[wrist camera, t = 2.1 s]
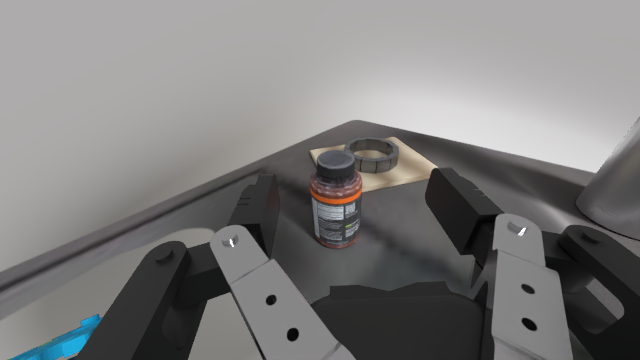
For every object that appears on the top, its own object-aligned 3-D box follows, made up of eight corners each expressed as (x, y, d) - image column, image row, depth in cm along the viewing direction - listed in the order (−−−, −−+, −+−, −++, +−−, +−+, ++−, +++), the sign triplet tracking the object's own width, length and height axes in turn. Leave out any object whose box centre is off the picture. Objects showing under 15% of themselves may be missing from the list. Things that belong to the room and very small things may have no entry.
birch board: (393, 140, 53) (394, 136, 52) (441, 175, 40) (443, 171, 39) (310, 154, 49) (310, 150, 48) (334, 198, 36) (334, 193, 35)
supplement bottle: (328, 212, 33) (326, 141, 27) (366, 226, 31) (373, 151, 24) (305, 239, 29) (296, 163, 23) (346, 258, 26) (350, 178, 20)
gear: (184, 277, 23) (108, 314, 14) (201, 335, 23) (131, 418, 13) (65, 324, 21) (-124, 407, 12) (78, 390, 21) (-114, 537, 11)
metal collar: (380, 145, 49) (382, 134, 47) (407, 167, 41) (410, 155, 39) (337, 152, 47) (337, 141, 45) (356, 177, 39) (356, 165, 37)
